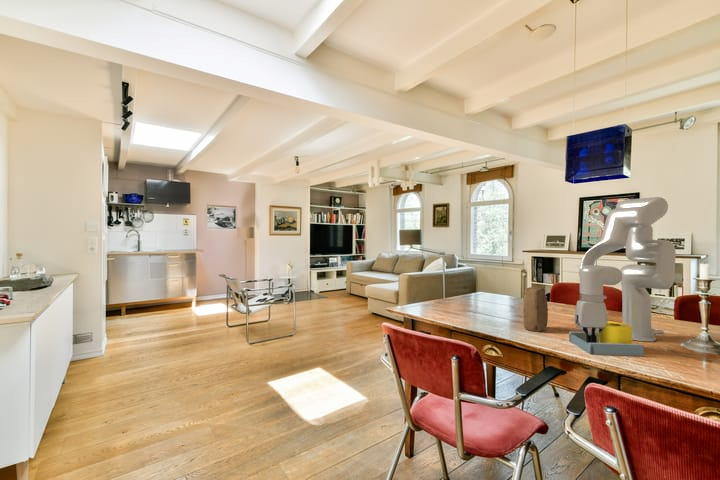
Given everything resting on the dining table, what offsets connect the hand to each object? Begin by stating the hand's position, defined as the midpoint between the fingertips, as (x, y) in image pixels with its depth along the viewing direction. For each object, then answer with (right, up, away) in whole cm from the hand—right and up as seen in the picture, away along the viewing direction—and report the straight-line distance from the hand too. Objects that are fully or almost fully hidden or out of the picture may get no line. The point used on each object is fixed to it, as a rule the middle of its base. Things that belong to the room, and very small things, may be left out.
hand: (591, 344), depth 127 cm
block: (-8, -1, +25) cm, 27 cm away
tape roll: (+8, -2, -1) cm, 9 cm away
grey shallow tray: (+4, -1, -1) cm, 5 cm away
